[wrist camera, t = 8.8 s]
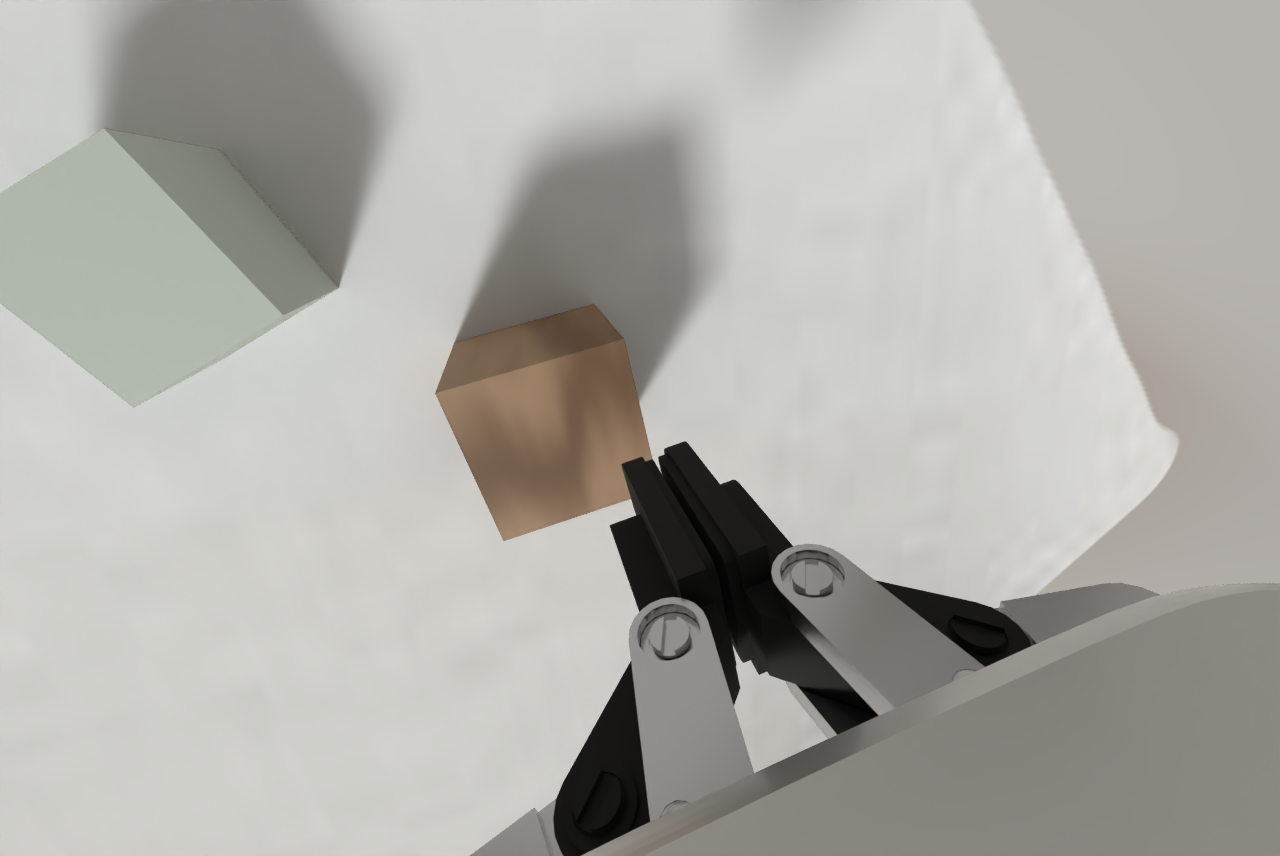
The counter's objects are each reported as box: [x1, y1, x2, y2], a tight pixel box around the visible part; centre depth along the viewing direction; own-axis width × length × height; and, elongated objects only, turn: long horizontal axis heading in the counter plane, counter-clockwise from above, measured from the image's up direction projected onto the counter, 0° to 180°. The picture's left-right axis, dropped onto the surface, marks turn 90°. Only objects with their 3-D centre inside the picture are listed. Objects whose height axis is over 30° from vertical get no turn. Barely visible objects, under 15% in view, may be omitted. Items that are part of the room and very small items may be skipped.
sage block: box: [0, 129, 339, 407], centre depth 14 cm, size 5×5×5 cm
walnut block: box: [435, 304, 652, 541], centre depth 19 cm, size 6×6×6 cm
